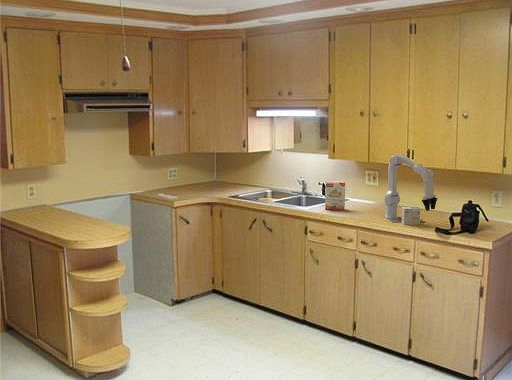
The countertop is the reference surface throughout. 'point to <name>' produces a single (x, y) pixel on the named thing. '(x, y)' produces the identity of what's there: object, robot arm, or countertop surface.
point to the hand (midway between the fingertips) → (430, 209)
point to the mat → (401, 220)
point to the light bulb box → (410, 215)
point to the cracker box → (335, 195)
